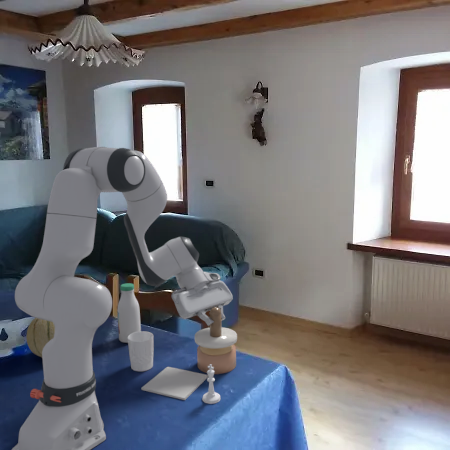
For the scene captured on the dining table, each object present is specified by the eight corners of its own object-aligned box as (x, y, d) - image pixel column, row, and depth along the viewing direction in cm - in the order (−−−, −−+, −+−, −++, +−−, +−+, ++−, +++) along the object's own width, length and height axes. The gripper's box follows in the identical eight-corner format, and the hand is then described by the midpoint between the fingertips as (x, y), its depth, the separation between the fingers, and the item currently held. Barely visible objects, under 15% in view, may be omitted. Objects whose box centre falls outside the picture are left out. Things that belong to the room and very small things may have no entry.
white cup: (149, 373, 146) (148, 342, 144) (125, 371, 147) (123, 340, 145) (158, 361, 153) (157, 332, 151) (135, 360, 155) (133, 330, 153)
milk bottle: (145, 337, 172) (143, 283, 169) (130, 345, 166) (127, 289, 162) (129, 333, 176) (126, 280, 173) (114, 340, 170) (111, 286, 166)
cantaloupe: (46, 370, 149) (42, 324, 146) (18, 359, 157) (14, 315, 154) (84, 352, 161) (81, 309, 158) (56, 342, 169) (53, 301, 166)
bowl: (226, 377, 142) (226, 358, 141) (190, 369, 147) (190, 351, 146) (242, 360, 153) (241, 342, 152) (208, 353, 158) (207, 336, 157)
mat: (184, 400, 130) (184, 398, 130) (141, 389, 136) (141, 387, 136) (208, 376, 143) (208, 375, 143) (167, 368, 149) (167, 366, 148)
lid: (226, 351, 140) (225, 317, 138) (187, 344, 146) (186, 311, 144) (243, 335, 152) (243, 303, 150) (206, 329, 157) (205, 298, 155)
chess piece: (214, 405, 127) (213, 370, 126) (198, 400, 130) (197, 366, 128) (224, 397, 131) (223, 363, 130) (209, 392, 134) (208, 358, 132)
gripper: (173, 286, 143) (196, 326, 138) (222, 272, 157) (244, 308, 152) (164, 297, 147) (186, 336, 142) (213, 283, 161) (234, 318, 156)
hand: (217, 321), depth 147 cm, fingers closed on lid, 4 cm apart
